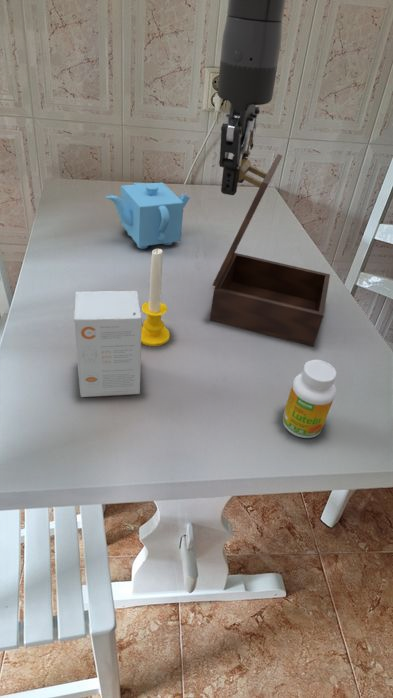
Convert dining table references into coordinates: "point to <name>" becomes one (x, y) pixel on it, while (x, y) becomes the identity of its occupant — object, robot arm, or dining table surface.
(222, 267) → the lid
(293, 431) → the supplement bottle
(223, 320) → the chest
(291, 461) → the dining table surface
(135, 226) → the teapot
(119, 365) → the small box
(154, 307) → the candle
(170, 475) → the dining table surface
